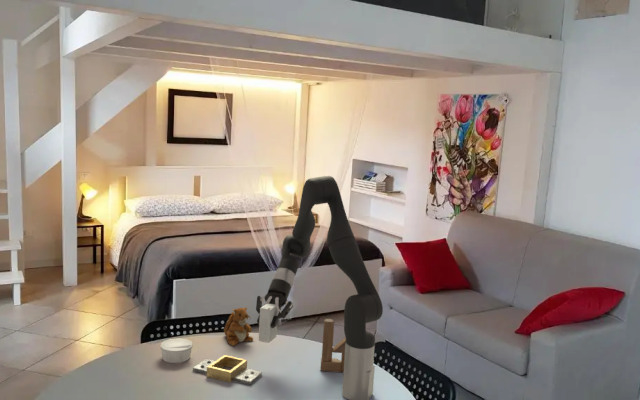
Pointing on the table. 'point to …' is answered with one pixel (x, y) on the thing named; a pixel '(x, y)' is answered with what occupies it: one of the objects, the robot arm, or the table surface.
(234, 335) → the stuffed squirrel
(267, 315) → the skincare box
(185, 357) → the ramekin
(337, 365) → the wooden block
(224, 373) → the square socket fixture
